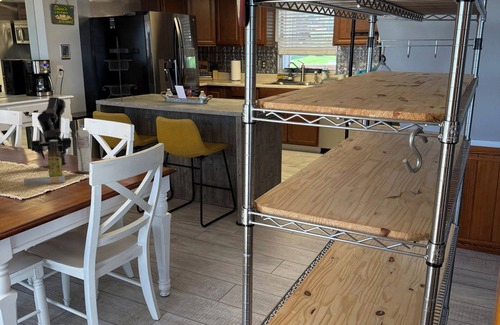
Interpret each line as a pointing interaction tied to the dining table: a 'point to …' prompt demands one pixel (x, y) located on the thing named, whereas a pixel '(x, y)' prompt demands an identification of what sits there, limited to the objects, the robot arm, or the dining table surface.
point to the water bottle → (83, 149)
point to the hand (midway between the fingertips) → (54, 157)
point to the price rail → (44, 180)
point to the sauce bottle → (54, 159)
